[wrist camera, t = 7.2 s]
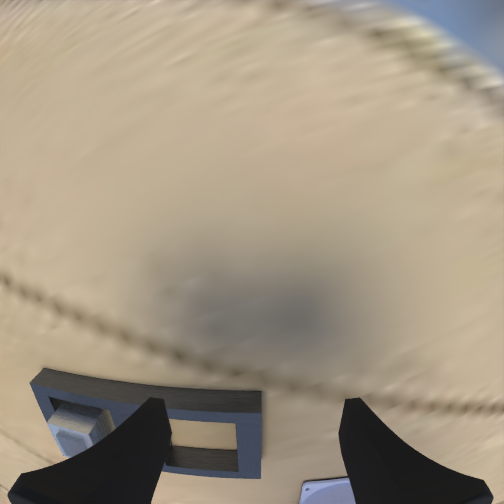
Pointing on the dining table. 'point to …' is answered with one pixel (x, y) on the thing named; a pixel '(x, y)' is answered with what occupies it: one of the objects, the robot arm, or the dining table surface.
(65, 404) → the grey metal block
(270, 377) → the dining table surface
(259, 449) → the blue-grey frame board
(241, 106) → the dining table surface
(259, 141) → the dining table surface
